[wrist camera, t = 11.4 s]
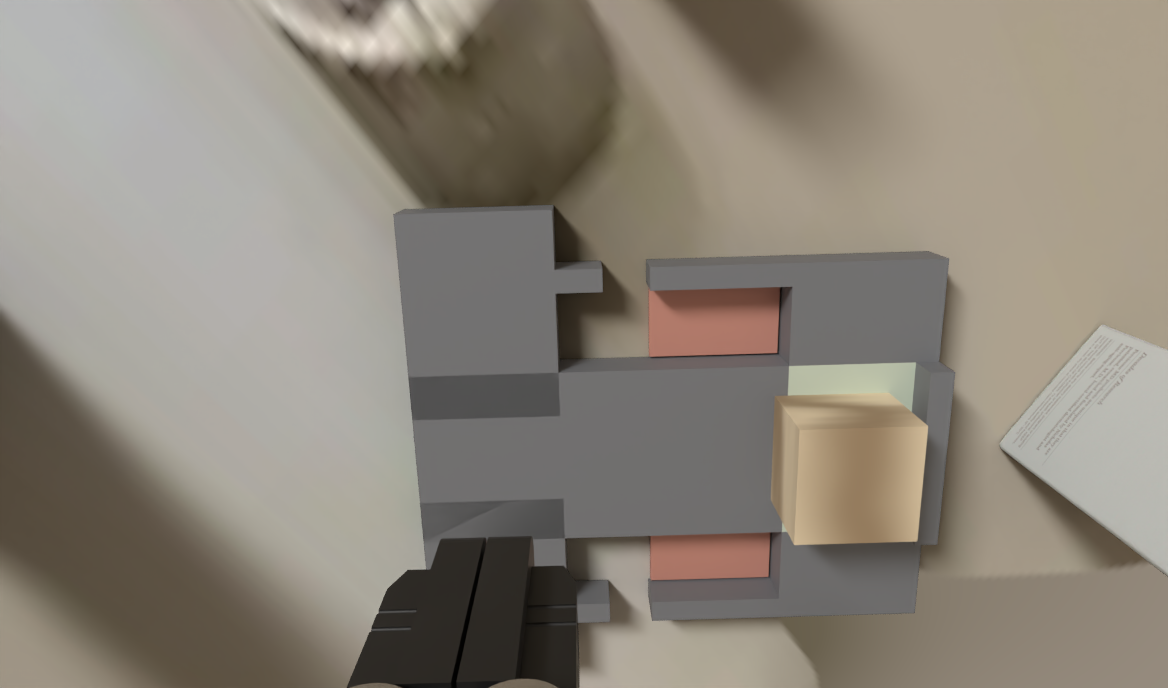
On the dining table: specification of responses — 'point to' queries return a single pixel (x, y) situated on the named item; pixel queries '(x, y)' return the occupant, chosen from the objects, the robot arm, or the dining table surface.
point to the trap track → (660, 409)
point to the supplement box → (1106, 439)
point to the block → (847, 468)
